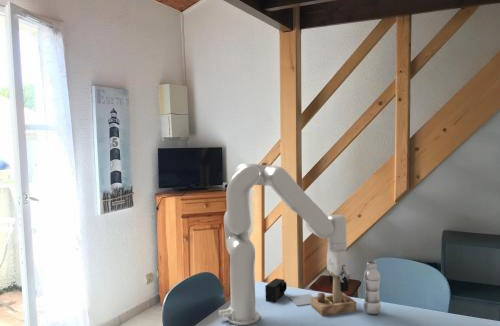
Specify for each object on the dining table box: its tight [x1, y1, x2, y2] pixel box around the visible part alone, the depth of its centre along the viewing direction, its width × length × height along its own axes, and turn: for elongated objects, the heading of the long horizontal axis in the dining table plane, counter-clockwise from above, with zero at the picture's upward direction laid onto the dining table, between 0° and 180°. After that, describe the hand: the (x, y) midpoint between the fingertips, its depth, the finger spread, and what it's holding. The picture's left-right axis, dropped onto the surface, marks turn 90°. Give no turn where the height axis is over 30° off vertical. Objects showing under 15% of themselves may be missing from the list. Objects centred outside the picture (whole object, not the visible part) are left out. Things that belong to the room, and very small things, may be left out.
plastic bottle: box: [363, 260, 382, 315], centre depth 157 cm, size 6×7×20 cm
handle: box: [328, 271, 344, 304], centre depth 163 cm, size 5×6×15 cm
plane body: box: [310, 292, 357, 317], centre depth 163 cm, size 15×10×6 cm
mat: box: [288, 293, 314, 307], centre depth 172 cm, size 10×10×1 cm
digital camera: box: [264, 278, 287, 304], centre depth 175 cm, size 10×5×7 cm, turn 151°
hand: (338, 287), depth 163 cm, fingers open, 9 cm apart
